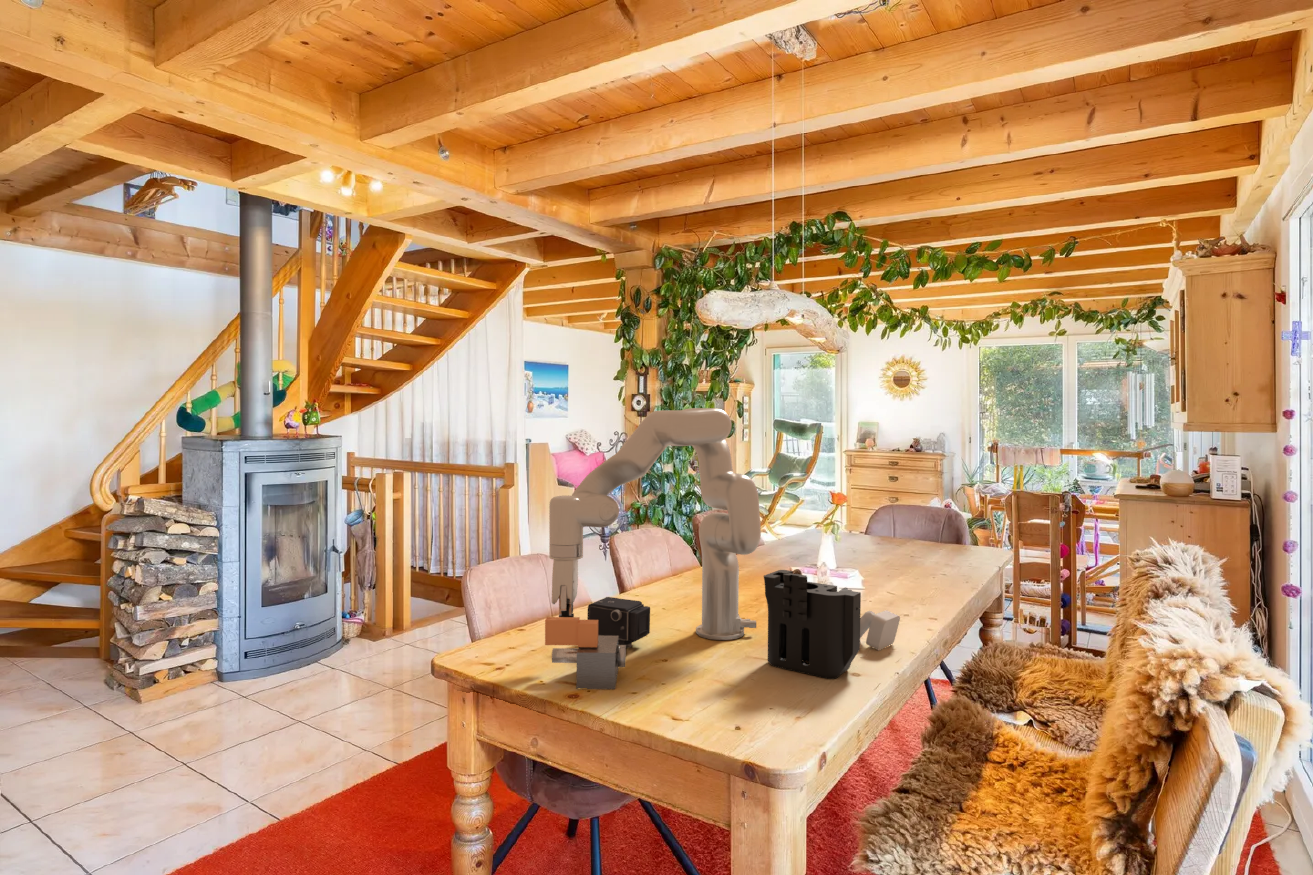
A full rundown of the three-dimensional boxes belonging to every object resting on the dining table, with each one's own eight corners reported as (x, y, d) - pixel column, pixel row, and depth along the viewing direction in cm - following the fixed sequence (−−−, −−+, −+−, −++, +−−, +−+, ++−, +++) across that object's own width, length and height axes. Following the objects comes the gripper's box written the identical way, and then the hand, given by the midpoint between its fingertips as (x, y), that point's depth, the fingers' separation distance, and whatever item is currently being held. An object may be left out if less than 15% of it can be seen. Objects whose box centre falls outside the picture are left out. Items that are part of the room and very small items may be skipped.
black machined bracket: (780, 653, 176) (781, 562, 175) (864, 672, 163) (865, 573, 163) (756, 667, 166) (757, 570, 166) (843, 687, 154) (845, 583, 153)
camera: (583, 650, 180) (636, 654, 173) (579, 604, 181) (632, 606, 174) (606, 639, 190) (657, 641, 183) (603, 595, 190) (653, 596, 183)
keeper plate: (598, 642, 157) (598, 617, 157) (597, 647, 154) (597, 620, 154) (547, 642, 157) (547, 616, 157) (544, 646, 154) (544, 620, 154)
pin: (625, 662, 160) (625, 642, 160) (624, 670, 156) (624, 648, 155) (554, 662, 160) (554, 641, 160) (551, 669, 156) (551, 648, 155)
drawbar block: (618, 669, 164) (618, 635, 164) (615, 689, 152) (615, 652, 152) (582, 669, 164) (582, 635, 164) (576, 688, 152) (576, 652, 152)
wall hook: (856, 633, 191) (864, 597, 189) (891, 651, 184) (901, 614, 182) (839, 639, 185) (848, 603, 183) (875, 658, 178) (885, 621, 176)
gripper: (554, 545, 172) (554, 622, 173) (544, 557, 158) (544, 641, 158) (586, 545, 172) (586, 622, 173) (579, 557, 158) (579, 642, 158)
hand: (566, 631), depth 165 cm, fingers closed
